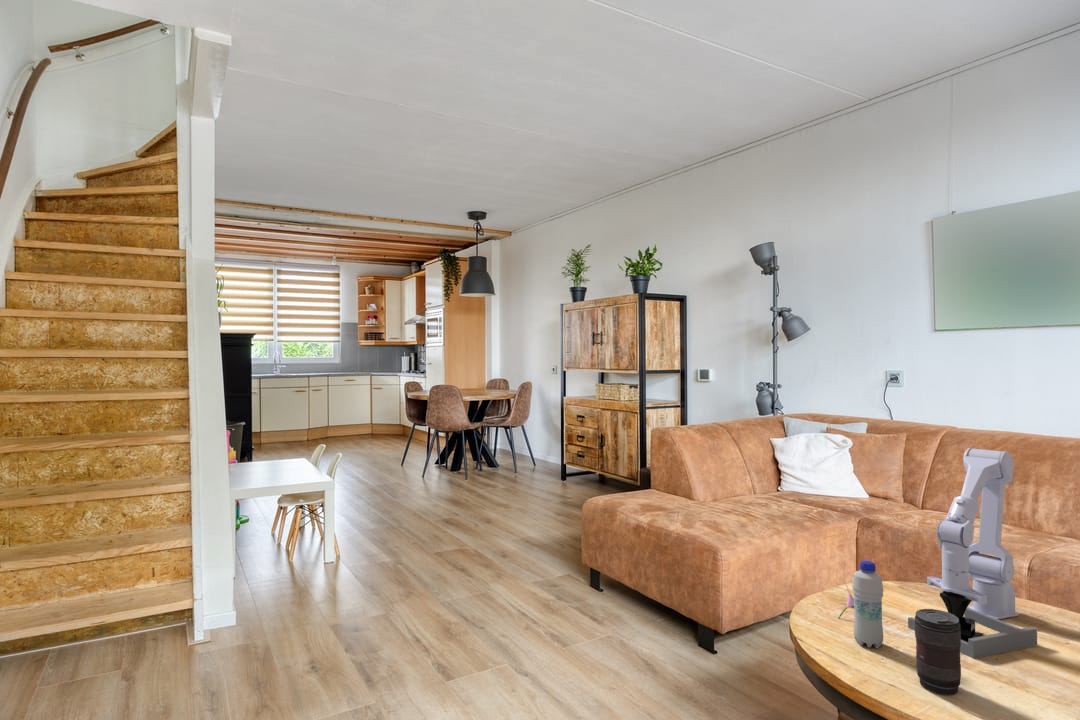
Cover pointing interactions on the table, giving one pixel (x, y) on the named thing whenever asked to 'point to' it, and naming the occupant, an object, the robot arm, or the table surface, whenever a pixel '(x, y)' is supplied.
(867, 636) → the bottle
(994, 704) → the table surface
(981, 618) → the dock
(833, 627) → the table surface
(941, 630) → the camera lens
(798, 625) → the table surface
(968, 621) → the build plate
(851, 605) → the lily
